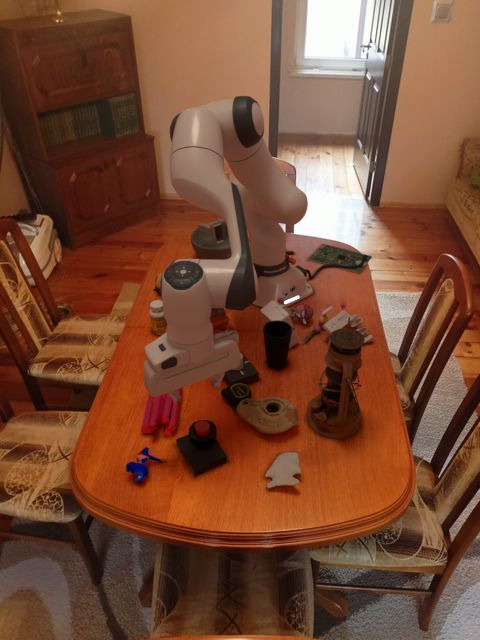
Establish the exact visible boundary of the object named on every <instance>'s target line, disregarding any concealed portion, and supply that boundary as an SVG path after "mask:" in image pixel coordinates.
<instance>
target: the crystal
mask: <svg viewBox="0 0 480 640" xmlns="http://www.w3.org/2000/svg"><path fill="white" fill-rule="evenodd" d="M177 391H178V393H179V394H180V396H181V397H182V393H183V387H182V388H180V389H177V390H175V392H177ZM146 401H147V402H146V406H145V410H144V415H143V419H142V423H141V427H140V429H141V430H140V432H141V433H143V434H146V435H149V434H152V433H153V432H154V431H155V430H156V429H157V427H158V425H160V426H162V425H164V427H163V432H162V433H163V435H164V436H165V437H170V436H172V434H173V431H175V430H176V429H177V425H178V420H179V413H180V412H179V411H180V407H181V406H180V405H181V402H179V403H176V404H174V402H173V400H172V397H170V396H169V395H168V393H166V394H163V395H161V396H158V397H153V396H151V395H150V394H149V393H148V396H147V400H146Z"/></svg>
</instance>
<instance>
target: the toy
mask: <svg viewBox="0 0 480 640" xmlns="http://www.w3.org/2000/svg"><path fill="white" fill-rule="evenodd" d="M162 274H163V272H160V273H158V275H156V277H155V280H154V288H153V289H152V290H153V292H159V293H161V291H160V282H161V277H162Z"/></svg>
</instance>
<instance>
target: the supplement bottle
mask: <svg viewBox="0 0 480 640" xmlns="http://www.w3.org/2000/svg"><path fill="white" fill-rule="evenodd" d="M149 306H150V307H149V308H150V309H149V311H148V312H149V313H148V314H149V319H150V324H151V329H152V332H153V334H155V335H158V336H162V335H163V334H164V333H166V329H167V321H166V319H165V317H164V313H163V305H162V299H161V300H160V299H155V300H153V301H151V302H150V304H149Z"/></svg>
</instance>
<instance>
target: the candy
mask: <svg viewBox="0 0 480 640" xmlns="http://www.w3.org/2000/svg"><path fill="white" fill-rule="evenodd" d="M340 308H341V311H342V310H344V309H345V308H347V304H346V302H343V301H342V302H341V303H340ZM329 320H330V318H329V316H328V315H327V314H326V315H320V317H319V318H318V325H320V326H321V327H320V328H321V330H325V329H324V328H323V327H322V326H323V325H324V324H325V323H327V322H328V321H329ZM330 335H331V334H329V333H328V336H327V342H328V343H327V346H328V347H329V346H330V342H331V341H330Z"/></svg>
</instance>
